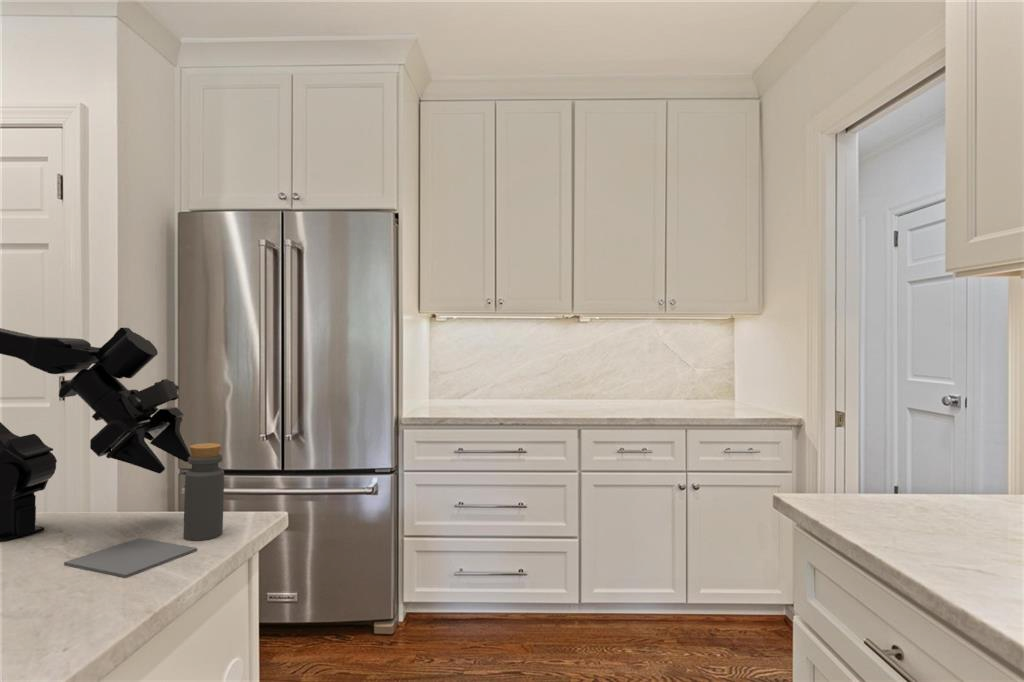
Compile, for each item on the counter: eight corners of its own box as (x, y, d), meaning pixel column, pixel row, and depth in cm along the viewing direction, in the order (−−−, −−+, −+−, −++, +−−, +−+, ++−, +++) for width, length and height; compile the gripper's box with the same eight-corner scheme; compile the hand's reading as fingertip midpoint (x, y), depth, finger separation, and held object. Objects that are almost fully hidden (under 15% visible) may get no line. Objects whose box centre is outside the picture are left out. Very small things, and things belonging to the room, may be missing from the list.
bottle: (206, 542, 99) (209, 449, 99) (175, 539, 101) (177, 447, 101) (230, 531, 105) (232, 443, 105) (200, 528, 106) (202, 441, 106)
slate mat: (64, 564, 88) (64, 562, 88) (139, 540, 100) (139, 537, 100) (125, 577, 84) (125, 574, 84) (197, 550, 96) (197, 547, 96)
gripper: (112, 366, 93) (186, 440, 94) (173, 362, 112) (234, 424, 112) (57, 418, 92) (131, 492, 93) (127, 405, 111) (188, 466, 112)
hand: (176, 465), depth 103 cm, fingers open, 9 cm apart
